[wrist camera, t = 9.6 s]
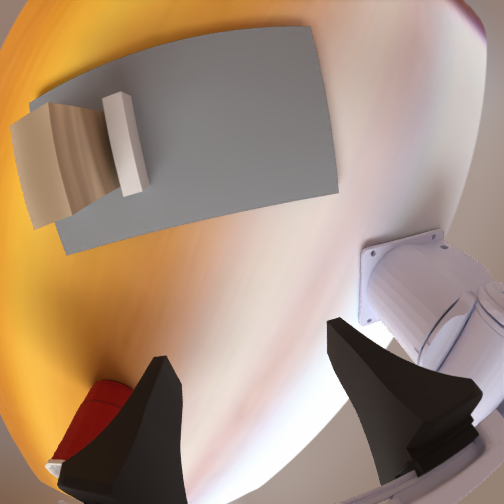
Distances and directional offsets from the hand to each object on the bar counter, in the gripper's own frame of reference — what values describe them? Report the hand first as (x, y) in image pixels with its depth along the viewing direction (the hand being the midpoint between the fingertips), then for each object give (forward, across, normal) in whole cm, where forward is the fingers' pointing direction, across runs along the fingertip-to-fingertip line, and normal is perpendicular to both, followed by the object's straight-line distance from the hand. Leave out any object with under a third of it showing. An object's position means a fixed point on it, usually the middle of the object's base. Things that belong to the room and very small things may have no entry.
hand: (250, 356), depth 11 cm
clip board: (+9, +2, -10) cm, 14 cm away
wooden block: (+8, +7, -10) cm, 15 cm away
